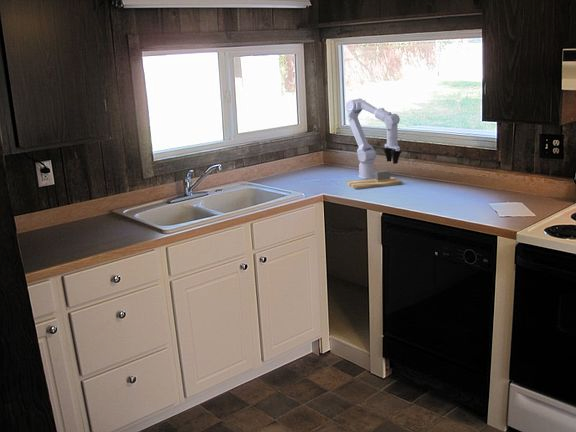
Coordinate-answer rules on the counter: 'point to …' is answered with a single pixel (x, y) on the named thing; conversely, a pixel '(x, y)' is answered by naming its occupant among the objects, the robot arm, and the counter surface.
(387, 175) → the block
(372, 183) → the board
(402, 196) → the counter surface
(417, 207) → the counter surface
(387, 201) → the counter surface
